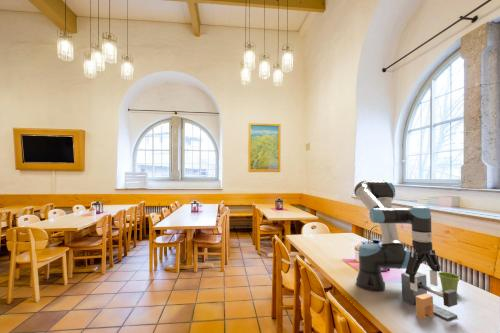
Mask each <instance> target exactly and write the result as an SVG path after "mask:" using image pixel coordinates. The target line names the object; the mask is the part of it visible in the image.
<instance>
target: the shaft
mask: <svg viewBox="0 0 500 333" xmlns="http://www.w3.org/2000/svg"><path fill="white" fill-rule="evenodd" d="M418 287H419V288H422V289H424V290H426V291H427V292H429V293H431V294H434V295H436V296H438V297H441V298H443V306H444V307H447V308H451V307H454V306H457V305H458V293H457V292H458V290H457V291H455V290H453V289H450V290H447V291H443V290H442V291H443V292H442V291H440V290H438V289H435V288H433V287H429V286H428V285H427V286H425V285H423V284H420V283H418Z"/></svg>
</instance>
